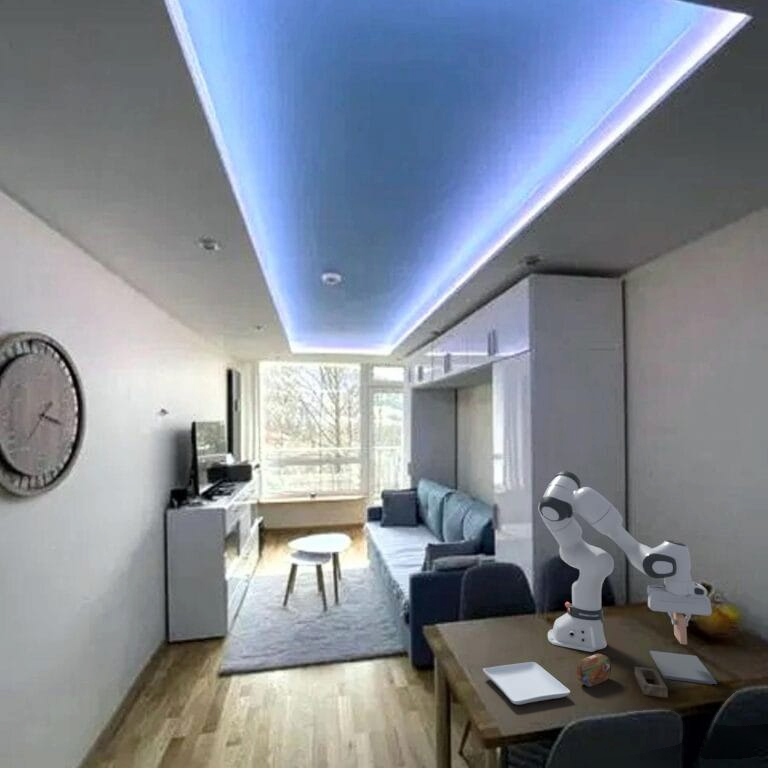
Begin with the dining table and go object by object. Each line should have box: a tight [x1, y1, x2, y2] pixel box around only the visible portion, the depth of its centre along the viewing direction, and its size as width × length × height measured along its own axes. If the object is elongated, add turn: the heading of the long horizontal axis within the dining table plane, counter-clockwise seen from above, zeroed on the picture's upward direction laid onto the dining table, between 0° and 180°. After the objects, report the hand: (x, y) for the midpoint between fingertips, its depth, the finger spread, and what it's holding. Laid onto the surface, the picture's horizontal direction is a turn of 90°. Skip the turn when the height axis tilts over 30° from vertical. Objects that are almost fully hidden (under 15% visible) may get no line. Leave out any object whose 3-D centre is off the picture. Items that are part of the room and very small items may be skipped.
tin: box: [576, 653, 612, 688], centre depth 172 cm, size 15×3×8 cm, turn 119°
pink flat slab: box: [672, 613, 688, 645], centre depth 182 cm, size 2×8×9 cm, turn 165°
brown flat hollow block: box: [634, 666, 669, 699], centre depth 169 cm, size 7×13×3 cm, turn 165°
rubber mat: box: [649, 650, 718, 686], centre depth 181 cm, size 16×20×1 cm
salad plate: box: [482, 661, 571, 706], centre depth 167 cm, size 21×21×3 cm
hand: (679, 625), depth 182 cm, fingers closed on pink flat slab, 2 cm apart
